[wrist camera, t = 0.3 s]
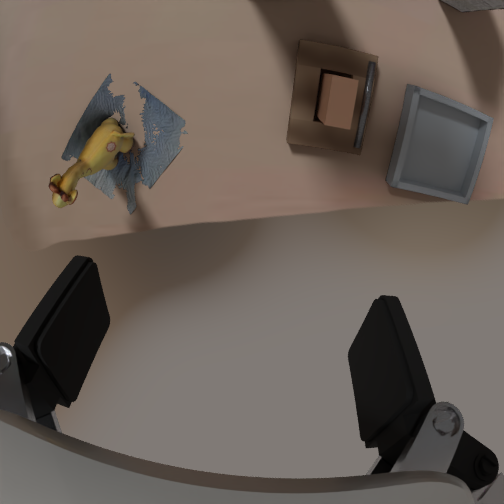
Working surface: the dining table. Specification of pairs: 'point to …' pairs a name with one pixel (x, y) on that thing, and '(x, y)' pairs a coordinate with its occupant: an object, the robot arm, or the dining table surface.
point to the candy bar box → (475, 4)
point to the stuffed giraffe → (117, 148)
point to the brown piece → (305, 95)
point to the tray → (438, 146)
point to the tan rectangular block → (337, 100)
